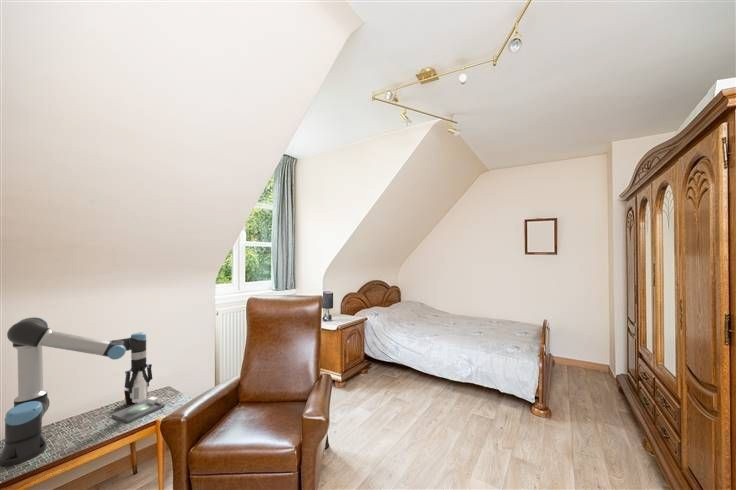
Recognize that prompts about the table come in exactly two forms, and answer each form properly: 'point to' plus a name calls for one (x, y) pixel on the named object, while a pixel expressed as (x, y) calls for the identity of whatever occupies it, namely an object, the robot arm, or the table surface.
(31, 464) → the table surface
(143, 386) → the spray bottle
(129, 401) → the coffee mug
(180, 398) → the table surface
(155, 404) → the charging dock
